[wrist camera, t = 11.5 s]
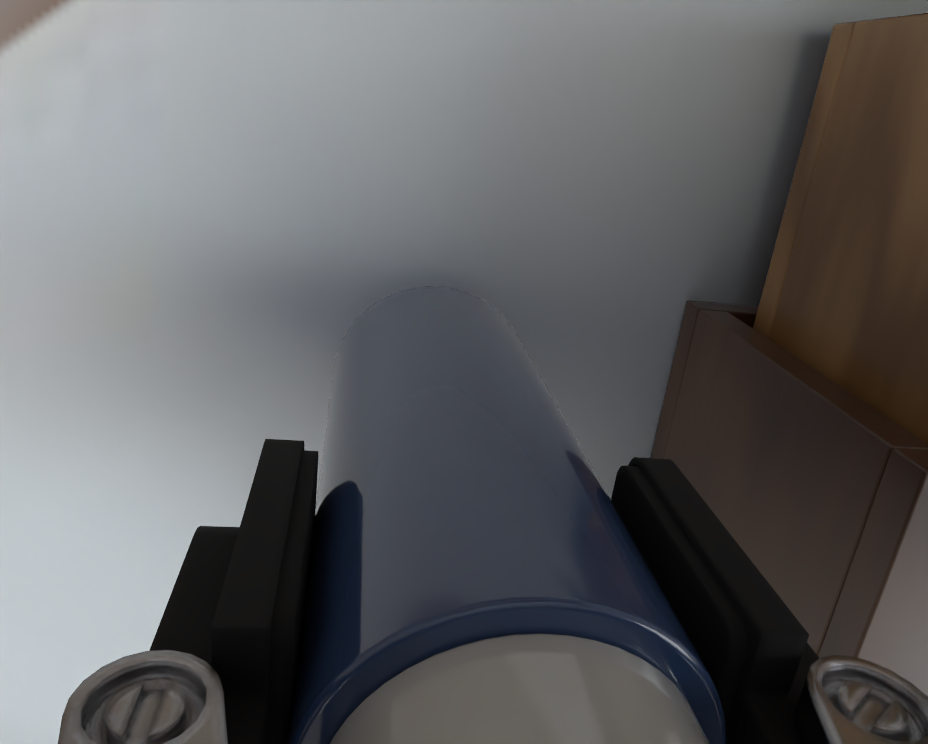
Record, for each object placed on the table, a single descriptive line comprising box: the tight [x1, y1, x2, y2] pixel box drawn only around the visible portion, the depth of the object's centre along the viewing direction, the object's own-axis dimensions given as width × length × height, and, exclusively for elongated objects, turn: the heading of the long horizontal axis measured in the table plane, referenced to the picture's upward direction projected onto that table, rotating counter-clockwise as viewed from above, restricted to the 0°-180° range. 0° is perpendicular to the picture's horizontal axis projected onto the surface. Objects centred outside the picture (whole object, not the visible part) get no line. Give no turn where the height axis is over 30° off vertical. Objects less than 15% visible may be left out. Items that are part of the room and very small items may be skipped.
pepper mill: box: [287, 286, 727, 744], centre depth 11 cm, size 4×4×13 cm
